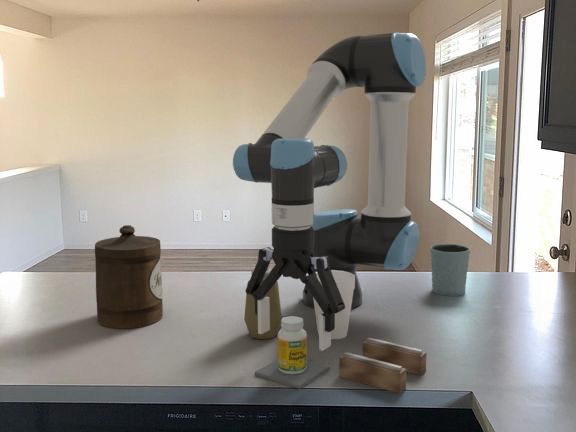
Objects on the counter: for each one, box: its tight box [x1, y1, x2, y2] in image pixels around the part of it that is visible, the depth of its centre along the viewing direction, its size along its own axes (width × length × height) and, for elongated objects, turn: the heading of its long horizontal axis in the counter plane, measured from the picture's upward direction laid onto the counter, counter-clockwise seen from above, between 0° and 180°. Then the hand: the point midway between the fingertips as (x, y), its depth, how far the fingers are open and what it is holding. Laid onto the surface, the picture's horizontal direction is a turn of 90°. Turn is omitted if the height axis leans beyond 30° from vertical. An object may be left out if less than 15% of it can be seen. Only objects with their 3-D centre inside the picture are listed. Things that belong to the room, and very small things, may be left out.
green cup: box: [429, 243, 471, 297], centre depth 162 cm, size 10×10×12 cm
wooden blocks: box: [338, 337, 428, 394], centre depth 112 cm, size 12×11×4 cm
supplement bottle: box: [277, 315, 308, 375], centre depth 112 cm, size 5×5×10 cm
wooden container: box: [94, 224, 164, 330], centre depth 141 cm, size 15×15×22 cm
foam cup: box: [313, 270, 355, 340], centre depth 131 cm, size 10×9×13 cm
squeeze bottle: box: [243, 267, 283, 340], centre depth 130 cm, size 8×8×18 cm
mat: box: [254, 358, 331, 389], centre depth 113 cm, size 10×10×1 cm
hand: (293, 339), depth 112 cm, fingers open, 13 cm apart
